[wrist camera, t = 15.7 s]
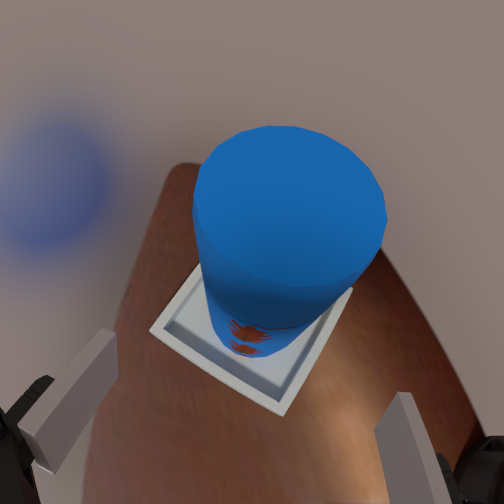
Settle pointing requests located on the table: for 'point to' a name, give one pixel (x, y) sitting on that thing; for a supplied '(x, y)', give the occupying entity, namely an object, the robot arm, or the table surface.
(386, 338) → the table surface
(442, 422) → the table surface
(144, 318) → the table surface
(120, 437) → the table surface
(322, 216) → the thermos
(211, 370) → the tray
